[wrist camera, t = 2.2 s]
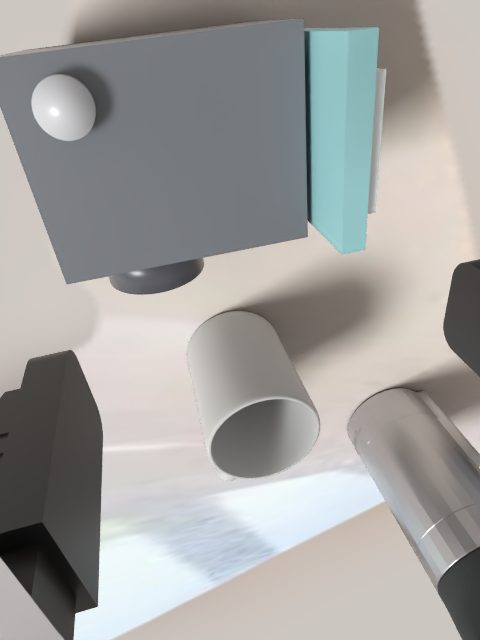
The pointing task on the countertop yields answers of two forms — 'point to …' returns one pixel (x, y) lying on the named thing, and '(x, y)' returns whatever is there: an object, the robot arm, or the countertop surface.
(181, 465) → the countertop surface
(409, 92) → the countertop surface
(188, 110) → the camera box
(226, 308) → the countertop surface
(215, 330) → the mug
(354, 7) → the countertop surface
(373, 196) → the side door
